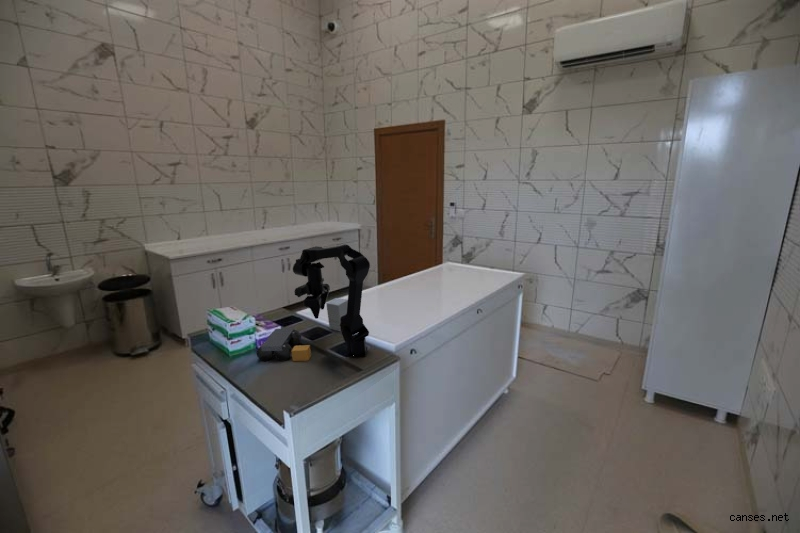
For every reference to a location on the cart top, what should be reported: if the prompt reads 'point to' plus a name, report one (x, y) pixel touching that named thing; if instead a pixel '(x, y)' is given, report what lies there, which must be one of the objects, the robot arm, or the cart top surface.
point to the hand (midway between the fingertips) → (319, 313)
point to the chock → (301, 353)
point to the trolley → (279, 344)
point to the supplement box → (336, 312)
